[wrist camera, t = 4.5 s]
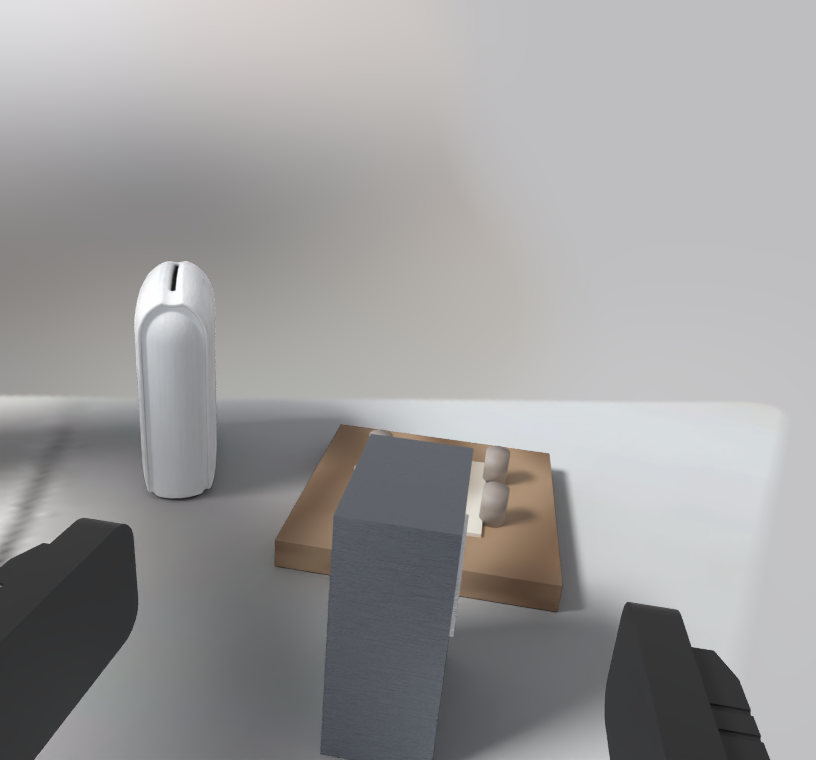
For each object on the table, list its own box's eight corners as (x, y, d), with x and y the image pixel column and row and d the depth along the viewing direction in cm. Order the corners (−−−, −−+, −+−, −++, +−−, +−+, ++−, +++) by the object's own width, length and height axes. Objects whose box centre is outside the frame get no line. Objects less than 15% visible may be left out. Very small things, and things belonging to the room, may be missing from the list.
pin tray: (274, 565, 35) (275, 505, 34) (339, 444, 48) (342, 397, 47) (557, 611, 34) (569, 550, 32) (545, 473, 46) (554, 425, 45)
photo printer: (152, 425, 48) (142, 246, 44) (216, 423, 49) (214, 248, 45) (138, 504, 39) (124, 288, 35) (217, 500, 40) (214, 289, 36)
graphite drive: (320, 754, 25) (333, 515, 22) (355, 638, 31) (371, 433, 27) (434, 775, 25) (467, 536, 21) (449, 655, 30) (477, 448, 27)
